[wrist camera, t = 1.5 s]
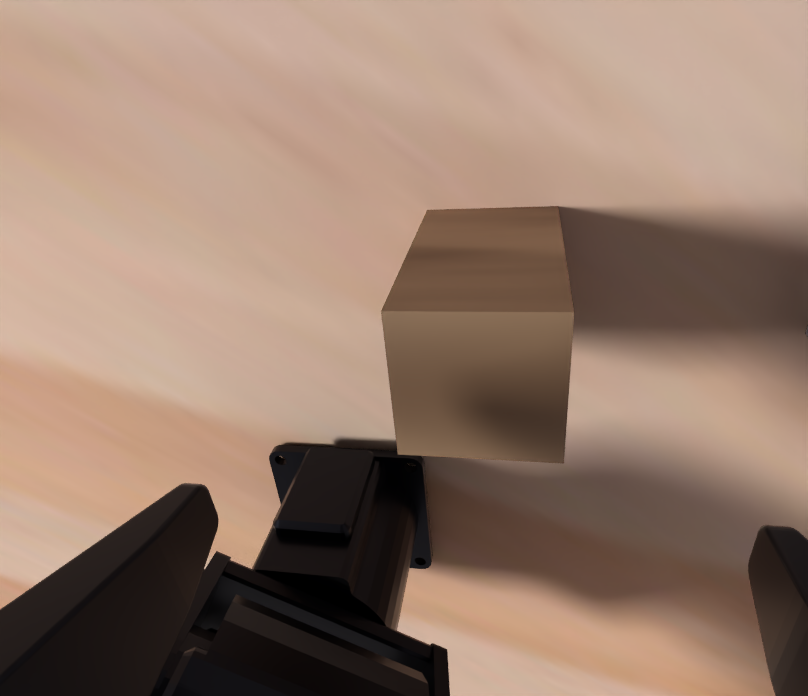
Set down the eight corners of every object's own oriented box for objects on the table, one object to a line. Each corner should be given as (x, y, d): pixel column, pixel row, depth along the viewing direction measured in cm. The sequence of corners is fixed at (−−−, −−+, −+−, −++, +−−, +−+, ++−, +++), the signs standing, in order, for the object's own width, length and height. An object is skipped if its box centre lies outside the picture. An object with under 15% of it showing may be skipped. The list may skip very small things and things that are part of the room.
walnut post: (552, 323, 20) (563, 463, 14) (434, 321, 20) (397, 454, 15) (558, 206, 18) (574, 312, 12) (427, 210, 18) (381, 311, 13)
